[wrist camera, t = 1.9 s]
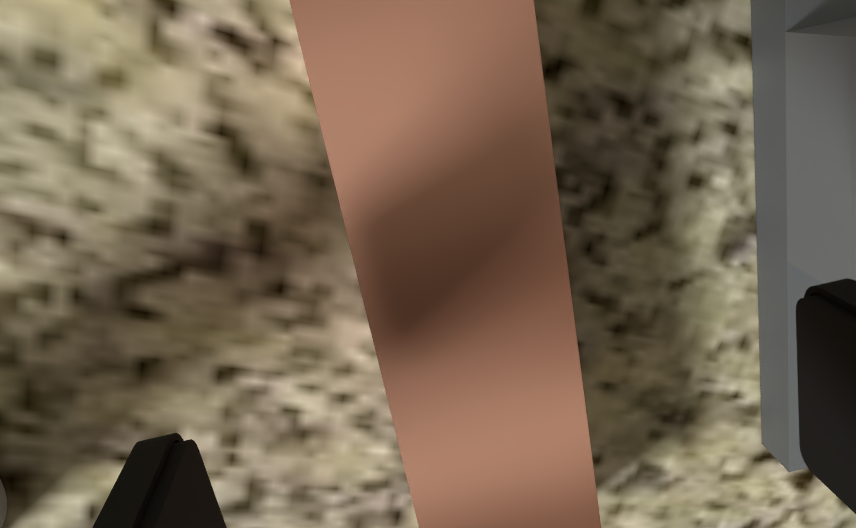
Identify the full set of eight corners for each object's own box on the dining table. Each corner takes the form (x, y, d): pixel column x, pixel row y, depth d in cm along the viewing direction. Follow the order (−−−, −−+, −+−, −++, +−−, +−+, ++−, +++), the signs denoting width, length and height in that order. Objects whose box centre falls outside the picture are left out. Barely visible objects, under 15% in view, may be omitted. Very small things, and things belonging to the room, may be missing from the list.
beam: (247, -250, 15) (192, -393, 10) (428, -284, 15) (476, -446, 10) (435, 539, 23) (464, 710, 18) (553, 512, 23) (619, 672, 18)
